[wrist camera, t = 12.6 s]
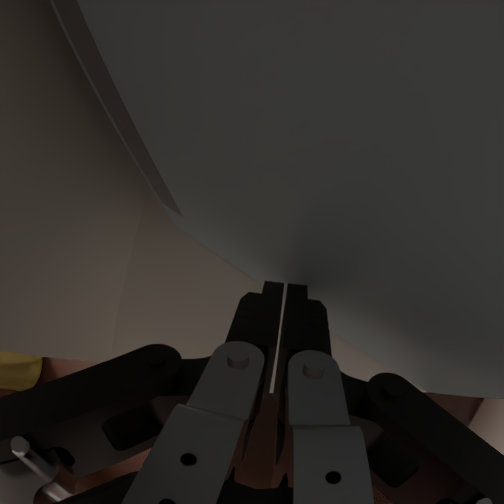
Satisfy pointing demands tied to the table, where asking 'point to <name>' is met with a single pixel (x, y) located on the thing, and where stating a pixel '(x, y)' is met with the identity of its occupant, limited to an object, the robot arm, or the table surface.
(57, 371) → the table surface
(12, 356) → the vase
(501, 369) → the door
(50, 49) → the housing
